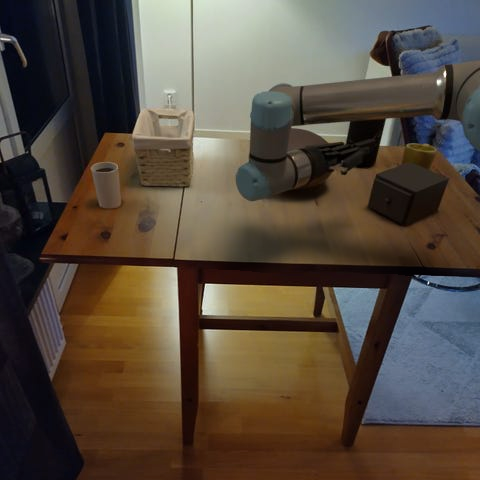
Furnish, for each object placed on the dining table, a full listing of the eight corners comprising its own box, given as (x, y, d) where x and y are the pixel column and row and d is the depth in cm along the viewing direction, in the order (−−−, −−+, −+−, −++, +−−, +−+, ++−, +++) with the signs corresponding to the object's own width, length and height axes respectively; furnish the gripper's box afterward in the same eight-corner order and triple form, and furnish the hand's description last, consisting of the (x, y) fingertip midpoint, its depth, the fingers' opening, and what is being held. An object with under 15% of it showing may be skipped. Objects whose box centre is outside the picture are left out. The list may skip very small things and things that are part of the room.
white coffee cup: (121, 196, 126) (116, 160, 120) (124, 207, 122) (119, 171, 115) (96, 199, 125) (89, 163, 118) (98, 210, 120) (92, 173, 113)
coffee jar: (371, 171, 146) (385, 111, 134) (338, 164, 149) (349, 105, 137) (378, 159, 154) (392, 102, 142) (347, 153, 157) (358, 96, 145)
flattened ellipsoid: (274, 159, 150) (279, 111, 140) (344, 180, 140) (354, 130, 130) (231, 185, 134) (232, 133, 125) (306, 211, 124) (314, 156, 114)
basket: (192, 189, 131) (191, 137, 121) (135, 188, 130) (129, 135, 121) (196, 156, 149) (195, 108, 139) (145, 155, 148) (141, 107, 138)
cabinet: (405, 226, 120) (415, 192, 114) (367, 207, 128) (376, 173, 121) (437, 211, 127) (449, 178, 121) (400, 194, 135) (410, 161, 128)
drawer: (398, 224, 119) (406, 196, 114) (364, 207, 126) (371, 180, 120) (431, 209, 126) (441, 182, 121) (398, 193, 133) (405, 167, 127)
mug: (426, 177, 139) (429, 142, 136) (394, 177, 146) (396, 144, 143) (442, 174, 147) (446, 141, 144) (412, 174, 154) (414, 143, 151)
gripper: (279, 173, 105) (349, 151, 116) (319, 195, 97) (390, 169, 108) (282, 140, 100) (355, 121, 111) (325, 160, 92) (398, 137, 103)
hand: (372, 145), depth 110 cm, fingers closed
